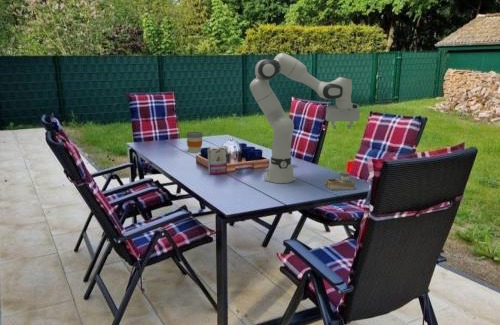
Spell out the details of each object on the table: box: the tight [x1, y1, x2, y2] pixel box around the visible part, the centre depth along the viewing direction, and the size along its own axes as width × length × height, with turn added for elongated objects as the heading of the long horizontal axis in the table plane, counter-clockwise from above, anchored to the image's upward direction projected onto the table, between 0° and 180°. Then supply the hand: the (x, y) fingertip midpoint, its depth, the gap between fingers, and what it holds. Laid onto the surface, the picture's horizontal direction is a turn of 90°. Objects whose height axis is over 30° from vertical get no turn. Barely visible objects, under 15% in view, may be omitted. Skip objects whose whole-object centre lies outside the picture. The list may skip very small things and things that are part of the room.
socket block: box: [324, 177, 356, 191], centre depth 246 cm, size 9×14×4 cm, turn 101°
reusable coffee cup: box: [185, 131, 204, 154], centre depth 339 cm, size 13×13×15 cm
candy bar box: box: [207, 146, 228, 176], centre depth 273 cm, size 11×5×16 cm, turn 112°
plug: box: [340, 172, 350, 181], centre depth 247 cm, size 4×4×8 cm
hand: (341, 128), depth 258 cm, fingers open, 8 cm apart
